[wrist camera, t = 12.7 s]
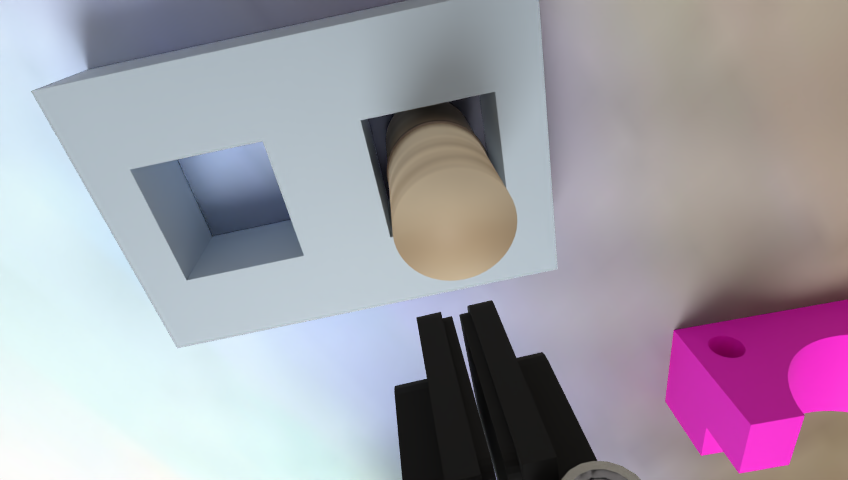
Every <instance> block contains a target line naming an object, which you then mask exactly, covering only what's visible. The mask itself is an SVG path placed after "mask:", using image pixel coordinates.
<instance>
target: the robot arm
mask: <svg viewBox="0 0 848 480" xmlns="http://www.w3.org/2000/svg"><path fill="white" fill-rule="evenodd" d="M460 321H461V326H462V331H463V336H464V341H465V346H466V351H467V357H468V362H469V367H470V372H471V377H472V382H473V387H474V392H475V398H476V401H475V398H474V394H473V390H472V387H471V383H470V380H469V376H468V372H467V369H466V365H465V362H464V358H463V354H462V351H461V347H460V344H459V340H458V336H457V333H456V329H455V326H454V322H453V318H452V316H451V317H447V318H442V315H441V312H439V313H434V314H430V315H425V316H421V317H417V323H418V329H419V335H420V341H421V346H422V352H423V358H424V364H425V369H426V375H427V379H424V380H419V381H415V382H411V383H406V384H402V385H398V386H395V389H394V390H395V403H396V414H397V425H398V436H399V447H400V458H401V469H402V480H496V477H497V480H641V479H640V478H639V477H638V476H637V475H636V474H634V473H633V472H631V471H629V470H628V469H626V468H624V467H623V466H620V465H617V464H613V463H610V462H604V461H597V459H596V457H595V455H594V453H593V451H592V449H591V447H590V445H589V443H588V441H587V439H586V437H585V435H584V433H583V431H582V429H581V427H580V425H579V423H578V421H577V419H576V417H575V415H574V412H573V410H572V408H571V406H570V404H569V402H568V400H567V398H566V396H565V394H564V392H563V390H562V388H561V386H560V384H559V382H558V380H557V378H556V376H555V374H554V372H553V370H552V368H551V366H550V364H549V362H548V360H547V358H546V356H545V355H544V354H543V353H542V352H541V353H537V354H532V355H528V356H524V357H519V358H516V356H515V354H514V351H513V349H512V346H511V344H510V342H509V339H508V337H507V334H506V332H505V330H504V327H503V325H502V322H501V320H500V317H499V315H498V313H497V310H496V308H495V305H494V303H493V301H492V300H491V301H487V302H482V303H478V304H474V305H469V306H468V313H464V314H460ZM476 403H477V405H476ZM477 407H478V408H477ZM478 411H479V412H478ZM479 415H480V416H479ZM484 433H485V434H484ZM489 451H490V452H489ZM492 462H493V463H492ZM493 466H494V467H493ZM494 469H495V472H494ZM495 473H496V476H495Z"/></svg>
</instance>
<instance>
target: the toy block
mask: <svg viewBox="0 0 848 480" xmlns="http://www.w3.org/2000/svg"><path fill="white" fill-rule="evenodd" d="M665 402H666V403H667V405H668V406H669V408H670V409H671V411H672V412H673V414H674V415H675V417H676V418H677V420H678V421H679V423H680V424H681V426H682V427H683V429H684V430H685V432H686V433H687V435H688V436H689V438H690V440H691V441H692V443H693V444H694V446H695V447H696V449H697V450H698V452H699V453H700V455H701V456H702V455H708V454H714V453H719V452H724V453H725V454H726V456H727V457H728V459H729V460H730V461H731V463H732V464H733V466H734V467H735V468H736V470H737V471H738V473H744V472H750V471H756V470H761V469H767V468H773V467H778V466H784V465H789V463H790V460H791V457H792V454H793V451H794V447H795V444H796V441H797V438H798V435H799V432H800V429H801V426H802V422H803V419H804V416H805V415H804V414H803V413H808V412H815V411H843V412H848V299H847V300H842V301H836V302H830V303H825V304H819V305H813V306H808V307H802V308H796V309H791V310H785V311H779V312H774V313H768V314H762V315H757V316H751V317H746V318H740V319H734V320H729V321H723V322H717V323H712V324H706V325H700V326H695V327H689V328H683V329H678V330H674V333H673V341H672V350H671V358H670V366H669V375H668V383H667V391H666V399H665Z"/></svg>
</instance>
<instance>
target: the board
mask: <svg viewBox="0 0 848 480" xmlns="http://www.w3.org/2000/svg"><path fill="white" fill-rule="evenodd" d="M31 92H32V94H33V95H34V97H35V99H36V101H37V102H38V104H39V106H40V108H41V110H42V111H43V113H44V115H45V117H46V118H47V120H48V122H49V124H50V125H51V127H52V129H53V131H54V132H55V134H56V136H57V138H58V139H59V141H60V143H61V145H62V146H63V148H64V150H65V152H66V153H67V155H68V157H69V159H70V160H71V162H72V164H73V166H74V168H75V169H76V171H77V173H78V175H79V176H80V178H81V180H82V182H83V183H84V185H85V187H86V189H87V190H88V192H89V194H90V196H91V197H92V199H93V201H94V203H95V204H96V206H97V208H98V210H99V211H100V213H101V215H102V217H103V219H104V220H105V222H106V224H107V226H108V227H109V229H110V231H111V233H112V234H113V236H114V238H115V240H116V241H117V243H118V245H119V247H120V248H121V250H122V252H123V254H124V255H125V257H126V259H127V261H128V262H129V264H130V266H131V268H132V269H133V271H134V273H135V275H136V277H137V278H138V280H139V282H140V284H141V285H142V287H143V289H144V291H145V292H146V294H147V296H148V298H149V299H150V301H151V303H152V305H153V306H154V308H155V310H156V312H157V313H158V315H159V317H160V319H161V320H162V322H163V324H164V326H165V328H166V329H167V331H168V333H169V335H170V336H171V338H172V340H173V342H174V343H175V345H176V347H177V348H181V347H185V346H190V345H195V344H200V343H205V342H210V341H214V340H219V339H224V338H229V337H234V336H238V335H243V334H248V333H253V332H258V331H262V330H267V329H272V328H277V327H282V326H286V325H291V324H296V323H301V322H306V321H311V320H315V319H320V318H325V317H330V316H335V315H339V314H344V313H349V312H354V311H359V310H363V309H368V308H373V307H378V306H383V305H387V304H392V303H397V302H402V301H407V300H412V299H416V298H421V297H426V296H431V295H436V294H440V293H445V292H450V291H455V290H460V289H464V288H469V287H474V286H479V285H484V284H488V283H493V282H498V281H503V280H508V279H513V278H517V277H522V276H527V275H532V274H537V273H541V272H546V271H551V270H556V269H557V255H556V240H555V225H554V211H553V196H552V182H551V167H550V153H549V138H548V123H547V109H546V94H545V80H544V65H543V51H542V36H541V22H540V7H539V0H407V1H402V2H397V3H393V4H388V5H384V6H379V7H374V8H370V9H365V10H360V11H356V12H351V13H347V14H342V15H337V16H333V17H328V18H324V19H319V20H314V21H310V22H305V23H301V24H296V25H291V26H287V27H282V28H277V29H273V30H268V31H264V32H259V33H254V34H250V35H245V36H241V37H236V38H231V39H227V40H222V41H217V42H213V43H208V44H204V45H199V46H194V47H190V48H185V49H181V50H176V51H171V52H167V53H162V54H158V55H153V56H148V57H144V58H139V59H134V60H130V61H125V62H121V63H116V64H111V65H107V66H102V67H98V68H93V69H88V70H85V71H83V72H80V73H78V74H75V75H72V76H70V77H67V78H64V79H62V80H59V81H57V82H54V83H51V84H49V85H46V86H44V87H41V88H38V89H36V90H33V91H31ZM477 95H479V96H480V103H481V111H482V118H483V126H484V133H485V141H486V148H487V156H488V158H489V160H490V161H491V163H492V165H493V167H494V168H495V170H496V172H497V173H498V175H499V177H500V178H501V180H502V182H503V184H504V185H505V187H506V189H507V190H508V192H509V194H510V196H511V197H512V199H513V201H514V204H515V207H516V212H517V230H516V234H515V237H514V240H513V242H512V244H511V246H510V248H509V250H508V251H507V253H506V254H505V255H504V257H503V258H502V259H501V260H500V261H499V262H498V263H496V264H495V265H494V266H493V267H491V268H490V269H488V270H487V271H485V272H483V273H481V274H479V275H477V276H474V277H471V278H468V279H463V280H456V281H445V280H437V279H433V278H430V277H427V276H424V275H422V274H420V273H418V272H417V271H415V270H414V269H412V268H411V267H410V266H409V265H408V264H407V263H406V262H405V261H404V260H403V259H402V257H401V256H400V254H399V252H398V251H397V249H396V246H395V243H394V239H393V232H392V219H391V205H390V199H388V197H387V193H386V189H385V185H384V181H383V177H382V173H381V169H380V165H379V161H378V157H377V153H376V149H375V145H374V141H373V137H372V133H371V129H370V125H369V121H368V119H369V118H374V117H379V116H383V115H388V114H393V113H397V112H402V111H407V110H411V109H416V108H421V107H425V106H430V105H435V104H439V103H444V102H449V101H454V100H458V99H463V98H468V97H472V96H477ZM262 141H263V144H264V146H265V149H266V152H267V155H268V157H269V160H270V163H271V166H272V168H273V171H274V174H275V177H276V180H277V182H278V185H279V188H280V191H281V193H282V196H283V199H284V202H285V204H286V207H287V210H288V213H289V216H290V218H291V220H288V221H283V222H278V223H273V224H269V225H264V226H259V227H254V228H250V229H245V230H240V231H235V232H231V233H226V234H221V235H216V236H212V235H211V233H210V230H209V228H208V226H207V224H206V222H205V219H204V217H203V215H202V213H201V211H200V208H199V206H198V204H197V202H196V200H195V198H194V195H193V193H192V191H191V189H190V187H189V184H188V182H187V180H186V178H185V176H184V173H183V171H182V169H181V167H180V165H179V163H178V160H177V159H182V158H187V157H191V156H196V155H201V154H205V153H210V152H215V151H219V150H224V149H229V148H233V147H238V146H243V145H247V144H252V143H257V142H262Z"/></svg>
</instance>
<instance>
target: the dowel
mask: <svg viewBox="0 0 848 480" xmlns="http://www.w3.org/2000/svg"><path fill="white" fill-rule="evenodd" d="M386 151H387V179H388V184H389V192H390V205H391V219H392V232H393V239H394V243H395V246H396V249H397V251H398V252H399V254H400V256H401V257H402V259H403V260H404V261H405V262H406V263H407V264H408V265H409V266H410V267H411V268H412V269H414V270H415V271H417V272H418V273H420V274H422V275H424V276H427V277H430V278H433V279H437V280H445V281H456V280H463V279H468V278H471V277H474V276H477V275H479V274H481V273H483V272H485V271H487V270H488V269H490V268H491V267H493V266H494V265H495V264H496V263H498V262H499V261H500V260H501V259H502V258H503V257H504V255H505V254H506V253H507V251H508V250H509V248H510V246H511V244H512V242H513V240H514V237H515V234H516V230H517V212H516V207H515V204H514V201H513V199H512V197H511V196H510V194H509V192H508V190H507V189H506V187H505V185H504V184H503V182H502V180H501V178H500V177H499V175H498V173H497V172H496V170H495V168H494V167H493V165H492V163H491V161H490V160H489V158H488V156H487V155H486V152H485V149H484V147H483V145H482V144H481V142H480V141H479V139H478V138H477V136H476V135H475V134H474V133H473V131H472V129H471V127H470V126H469V124H468V122H467V121H466V119H465V117H464V116H463V114H462V113H461V112H460V111H459V110H458V109H457V108H456V107H455V106H454V105H452V104H451V103H449V102H444V103H439V104H435V105H430V106H425V107H421V108H416V109H411V110H407V111H402V112H397V113H395V115H394V116H393V117H392V119H391V121H390V123H389V126H388V128H387V132H386Z"/></svg>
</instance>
